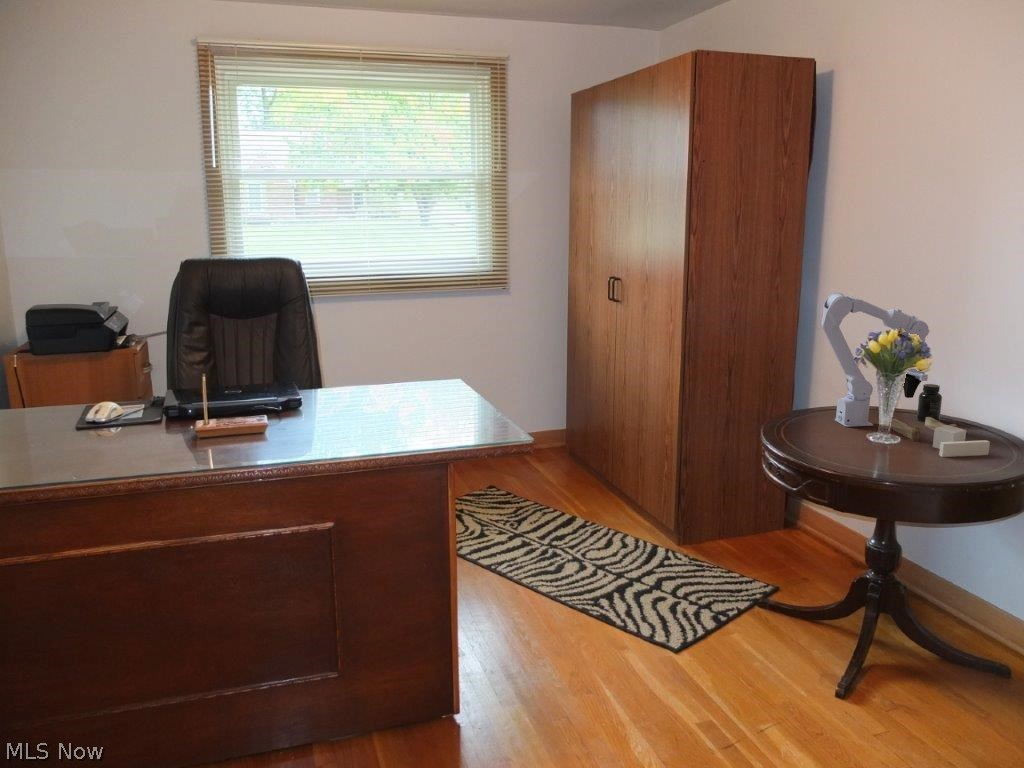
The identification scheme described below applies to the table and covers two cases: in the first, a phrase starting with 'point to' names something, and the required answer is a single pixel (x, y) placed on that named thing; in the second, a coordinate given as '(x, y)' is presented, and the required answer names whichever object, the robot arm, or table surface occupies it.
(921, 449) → the table surface
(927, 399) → the supplement bottle
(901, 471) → the table surface
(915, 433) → the chute
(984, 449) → the board
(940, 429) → the beige cube
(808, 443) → the table surface
